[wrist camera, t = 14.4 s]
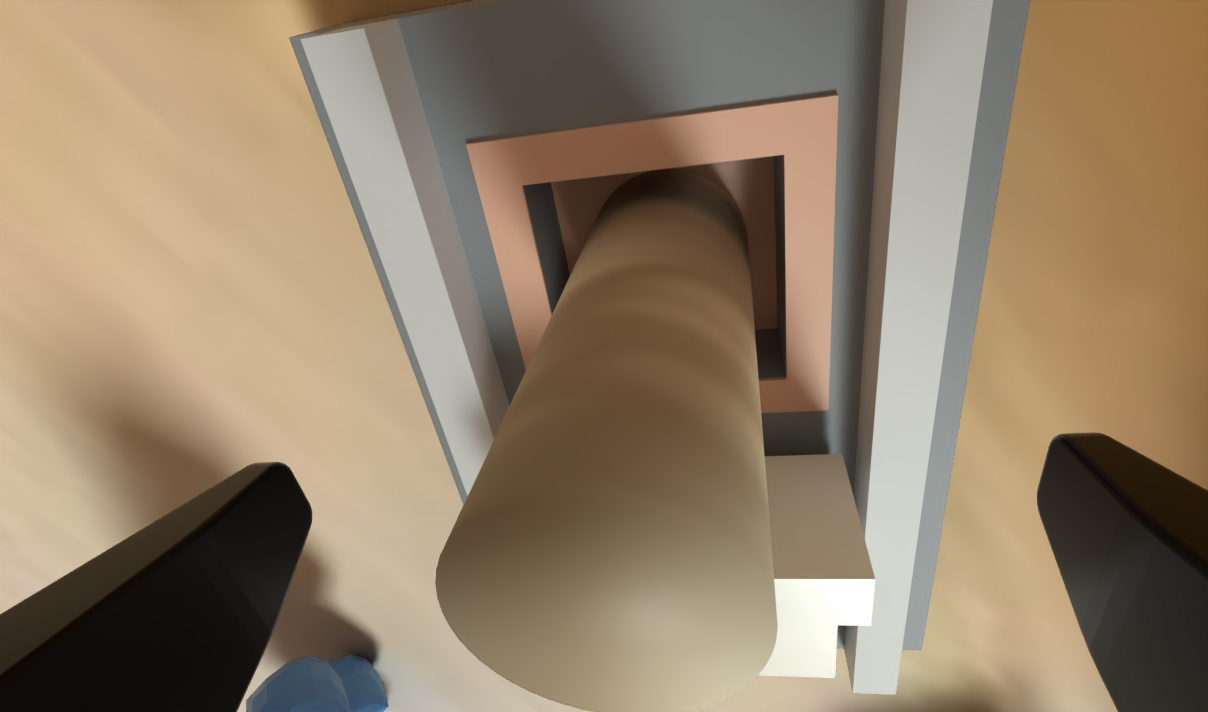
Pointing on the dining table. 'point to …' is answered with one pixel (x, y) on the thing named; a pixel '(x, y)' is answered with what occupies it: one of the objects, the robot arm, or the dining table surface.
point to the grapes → (321, 687)
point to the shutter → (815, 562)
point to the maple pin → (629, 474)
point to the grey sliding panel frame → (736, 163)
